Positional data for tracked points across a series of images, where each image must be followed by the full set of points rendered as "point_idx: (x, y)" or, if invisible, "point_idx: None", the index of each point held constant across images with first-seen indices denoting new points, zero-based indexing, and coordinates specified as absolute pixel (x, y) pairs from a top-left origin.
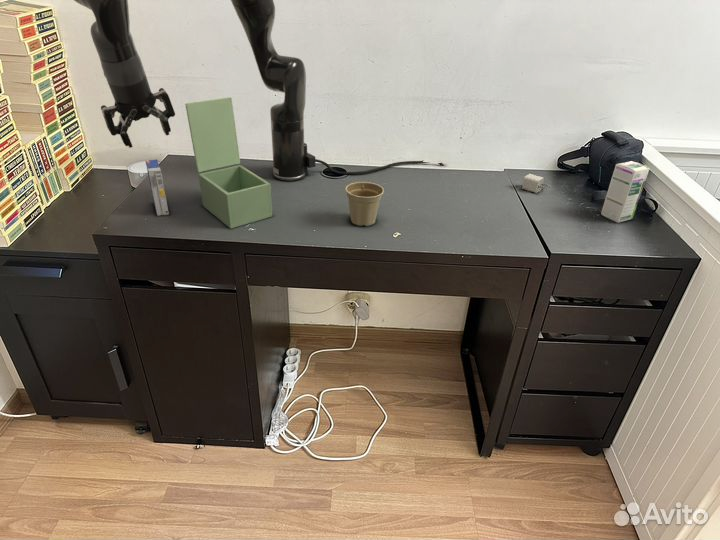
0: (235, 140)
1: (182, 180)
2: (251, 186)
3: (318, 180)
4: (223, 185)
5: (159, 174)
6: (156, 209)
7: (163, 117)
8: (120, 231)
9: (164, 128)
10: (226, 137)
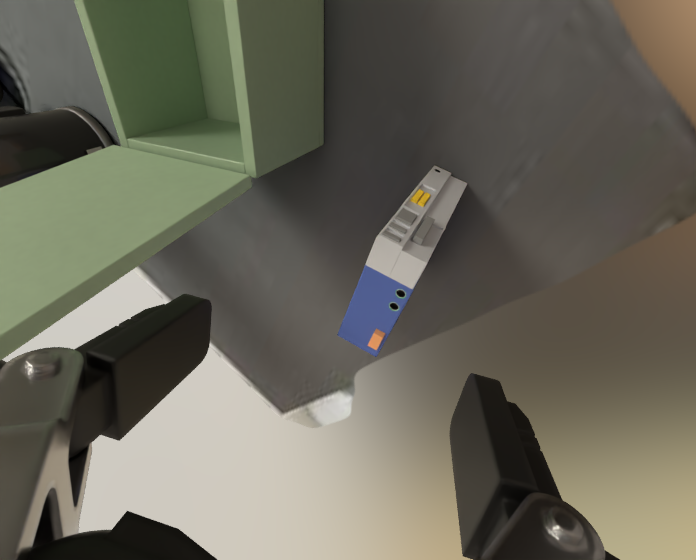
0: (27, 180)
1: (304, 314)
2: (142, 28)
3: (32, 67)
4: (223, 135)
5: (392, 229)
6: (463, 191)
7: (25, 389)
8: (657, 163)
9: (163, 327)
10: (32, 198)
